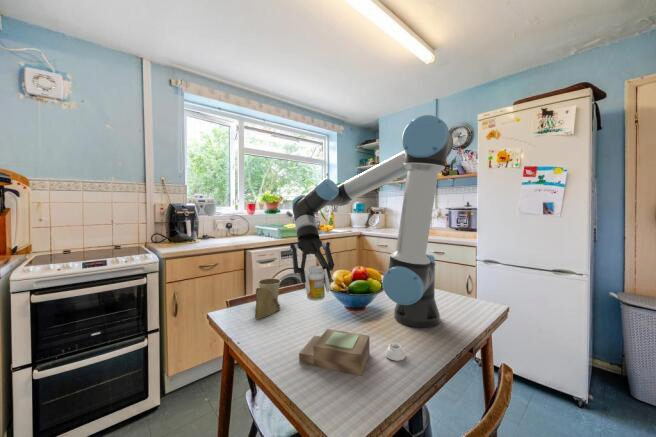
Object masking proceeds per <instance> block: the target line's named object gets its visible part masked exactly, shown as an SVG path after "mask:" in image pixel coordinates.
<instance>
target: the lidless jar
mask: <svg viewBox="0 0 656 437" xmlns="http://www.w3.org/2000/svg"><path fill="white" fill-rule="evenodd" d="M384 355H385V357H386V358H387V359H388V360H392V361H396V362H398V361H403V360H404V359H405V357H406V355H405V352H404V350H403V348H402V345H400V344H399V343H397V342H392V343H389V345H388V347H387V349H386V351H385V352H384Z"/></svg>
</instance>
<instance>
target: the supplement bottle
mask: <svg viewBox="0 0 656 437" xmlns="http://www.w3.org/2000/svg"><path fill="white" fill-rule="evenodd" d="M308 279H309V285H310V292H309V294H306V298H307V300H309V301H314V302H315V301H322V300H324V299H325V297H326V296H325V291H326V288H325V283H324V274H323V268H322V266H321V265H311V266H309V267H308Z"/></svg>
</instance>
